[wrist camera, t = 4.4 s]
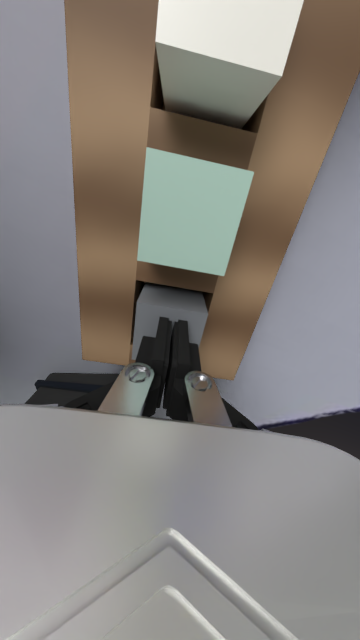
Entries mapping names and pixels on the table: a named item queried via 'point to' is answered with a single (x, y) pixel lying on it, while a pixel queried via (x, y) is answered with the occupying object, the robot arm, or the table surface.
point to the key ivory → (222, 55)
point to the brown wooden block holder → (201, 143)
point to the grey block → (168, 312)
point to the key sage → (190, 211)
